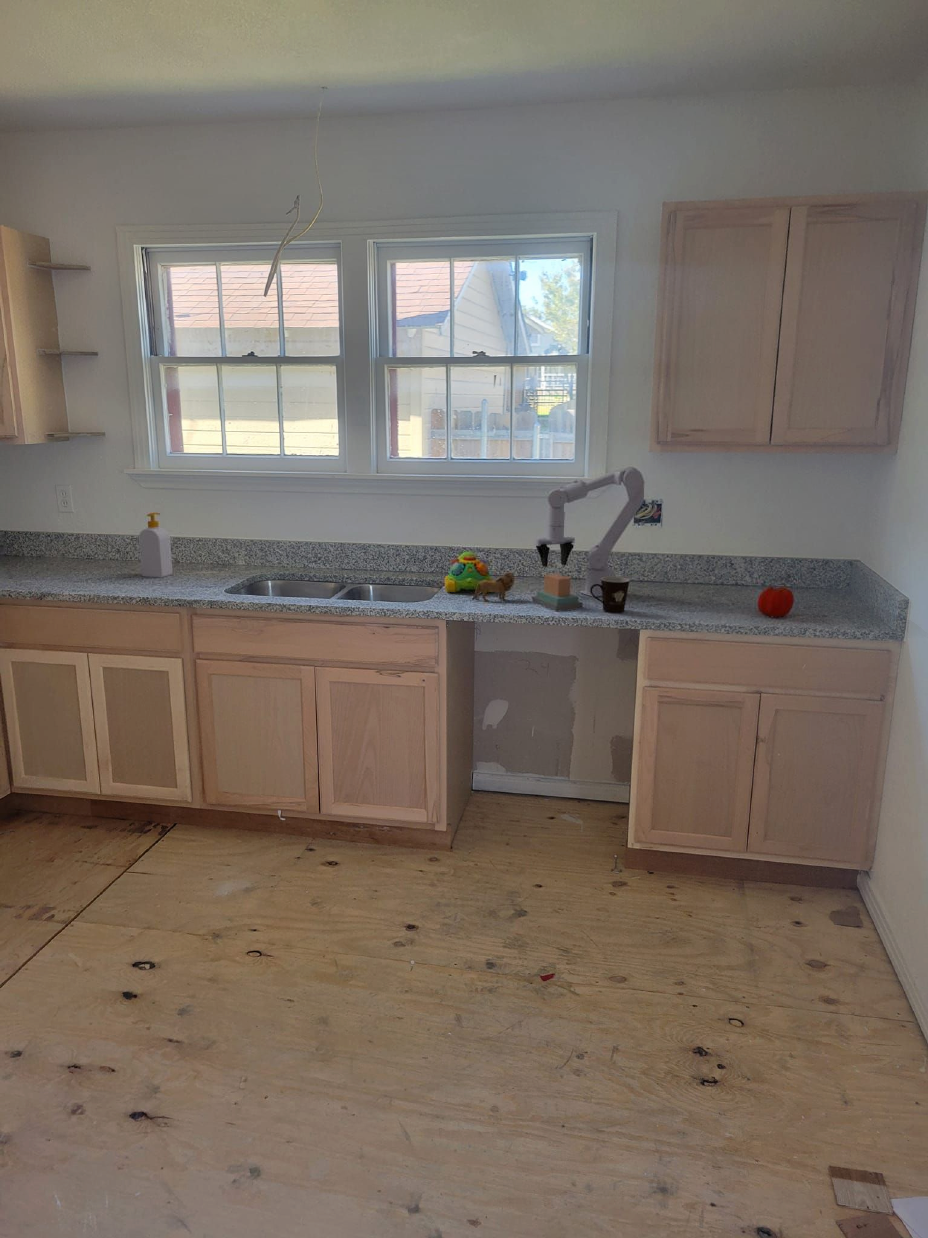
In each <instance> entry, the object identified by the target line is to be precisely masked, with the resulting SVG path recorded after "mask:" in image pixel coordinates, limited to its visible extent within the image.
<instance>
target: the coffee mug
mask: <svg viewBox="0 0 928 1238" xmlns="http://www.w3.org/2000/svg"><path fill="white" fill-rule="evenodd" d="M601 584H602V585H600V584H594V585H593V586H591V589H590V593H591V594H592V596H593V597H592V596H591V597H592V598H595V600H597V601H599V602H601V603H602V610H603V612H604V613H608V614H622V612H623V613H624V612H625V607H626V601H627V598H628V597H627V596H628V592H629V586H630V579H629V578H627V577H622V576H621V577H620V576H615V577H604V578H601ZM595 586H599V587H600V588H601V590H602V596H601V598H602V599H600V598H599V597H598V596H597V597H596V596H595V595H594V594H593V593H592V589H593V587H595Z"/></svg>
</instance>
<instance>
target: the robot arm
mask: <svg viewBox="0 0 928 1238" xmlns="http://www.w3.org/2000/svg"><path fill="white" fill-rule="evenodd" d="M609 485H616V486H622V485H624V487H625V490H626V493H627V500H626V501H625V503H624V505H623V506H622V508H621V509H620V510H619V512H618V513H617V514H616V516H615V518H614V520H613V521H612V522H611V524H610V526H608V528H607V530H606V531H605V533H604V534H603V536H602V538H601V539H600V540H599V541H598V542H597V543H596V545H595V546H593V547H592V548H590V549H589V551H588V552H587V559H588V564H587V565H586V569H585V586H584V587H585V590H580V591H579V593H581V594H584V595H587V596H589V597H592V598H594V597H593V596H592V594H591V593H590V589H591V586H593V585H594V584H600V585H602V584H601V578H604V577H616V574H615V571H614V569H613V568H612V567H608V565H607V564H608V560H609V556H611V553H612V552H613V549H614V546H616V543H617V542H618V540H619V539H620V538H621V536H622V535H623V533H624V532H625V530H626V528H627V527H628V525H629V524H630V522H631V521H632V520H633V518H634V517H635V515H636V514H637V512H638V511H639V509H640V508H641V506H642V505H643V503H644V501H645V479H644V477H643V474H642V472H641V471H640V470H638V469H637V468H636V467H633V466H630V467H626V468H624V469H623V468H622V469H618V470H614V471H611V472H608V473H605V474H604V475H601V476H599V477H596V478H594V479H591V480H588V481H586V482H585V481H583V480H577V479H575V480H573V482H572V483H570V484H566V485H559V489H558V488H554V489H552V490H551V491H550V492H549V494H548V496H547V502H548V505H547V516H546V517H547V518H546V521H547V522H546V524H547V525H546V537H545V538H539V539H538V538H537V539H535V541H534V542H535V543H534V545H535V549H536V550H537V551H538V554H539V557H540V562H541V566H542V567H544V568H547V567H548V563H549V562H548V561H549V554H550V550H551V548H550V547H548V546H549V545H550V546H551V545H559V548H560V564H561V565H562V566H567V562H568V559H569V556H570V555H571V552H572V551H573V549H574V546H575V545H574V544H575V541H576V540H575V537H573V536H565V516H566V512H565V504H566V503H568V504H570V503H573V502H576V501H578V500H581V499H583V498H586V497H587V496H588V495H589V494H588V493H589V492H592V491H594V490H597V489H601V488H604V487H607V486H609ZM592 593H593V594H594V595H595V596H596V597H597V598H598V597H602V590H601V588H600V587H599V586H595V587H593V589H592Z"/></svg>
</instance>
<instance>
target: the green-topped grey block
mask: <svg viewBox="0 0 928 1238" xmlns="http://www.w3.org/2000/svg"><path fill="white" fill-rule="evenodd" d="M531 599H532V600H531V601H532V602H531V603H534V604H536V605H539V606H540V607H544V606H545V607H544V608H546V607H547V608H546V609H549V610H551V609H552V610H551V611H554V610H555V612H560V611H559V610H562V611H568V610H569V611H571V610H579V609H583V605H584V604H583V602H582V601H580V600H579V596H578V595H576V594H575V595H574V594H572V593H570V596H562V597H557V596H554V595H551V594H548V593H546V592H544V590H538V591H536V595H534V596H531ZM570 609H571V610H570Z"/></svg>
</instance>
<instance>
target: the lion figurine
mask: <svg viewBox="0 0 928 1238" xmlns="http://www.w3.org/2000/svg"><path fill="white" fill-rule="evenodd" d="M514 576H515V574H514V573H512V572H510V571H507V572H505V573H503V575H502V576H501V577H499V578H498V579H497V580H492V581H487V580H483V581H480V582H479V583H478V585H477V587H476V589H474V590H475V592H474V595H473V597H472V598H471V601H474V600H477V601H478V600H479V599H480V598H479V597H478V596H479V595H480V594H481V593H482V595H481V598H482V599H483V601H484V602H486V601H488V602H489V599H487V598H486V595H487V593H486V592H487V590H489V591H491V593H498V595H497V596H498V599H499V600H501V601H503V602H506V601H507V598H505V597H506V592H509V591H510V590H511V588H512V587H513V586H514V583H515V577H514ZM478 587H479V589H478Z"/></svg>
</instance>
